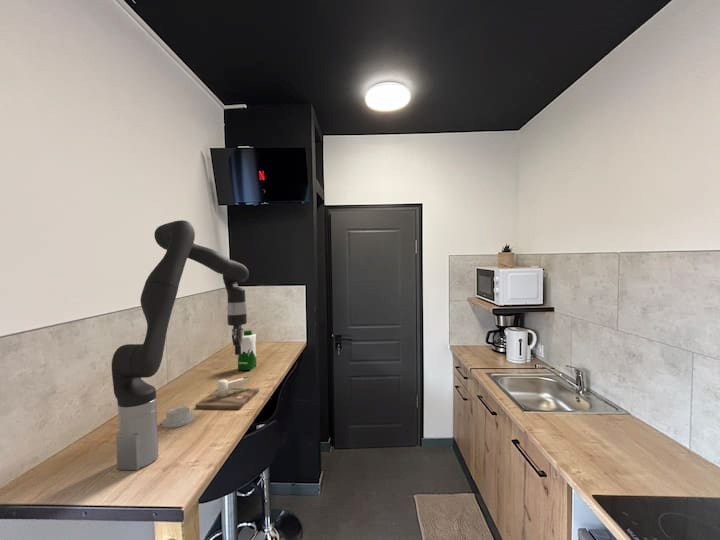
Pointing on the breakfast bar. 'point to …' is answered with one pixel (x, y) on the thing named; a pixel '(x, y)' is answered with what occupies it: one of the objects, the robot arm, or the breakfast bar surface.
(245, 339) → the milk carton
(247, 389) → the board
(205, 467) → the breakfast bar surface
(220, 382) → the peg
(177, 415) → the mechanical component
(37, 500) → the breakfast bar surface
